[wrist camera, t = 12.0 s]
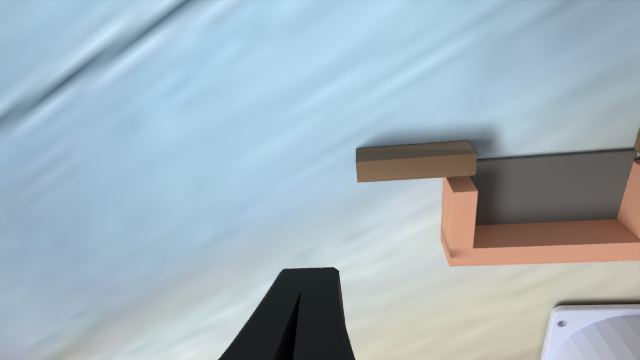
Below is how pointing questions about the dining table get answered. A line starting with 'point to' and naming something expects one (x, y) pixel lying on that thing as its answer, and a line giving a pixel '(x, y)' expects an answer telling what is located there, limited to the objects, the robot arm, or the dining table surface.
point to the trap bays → (544, 210)
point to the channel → (420, 161)
